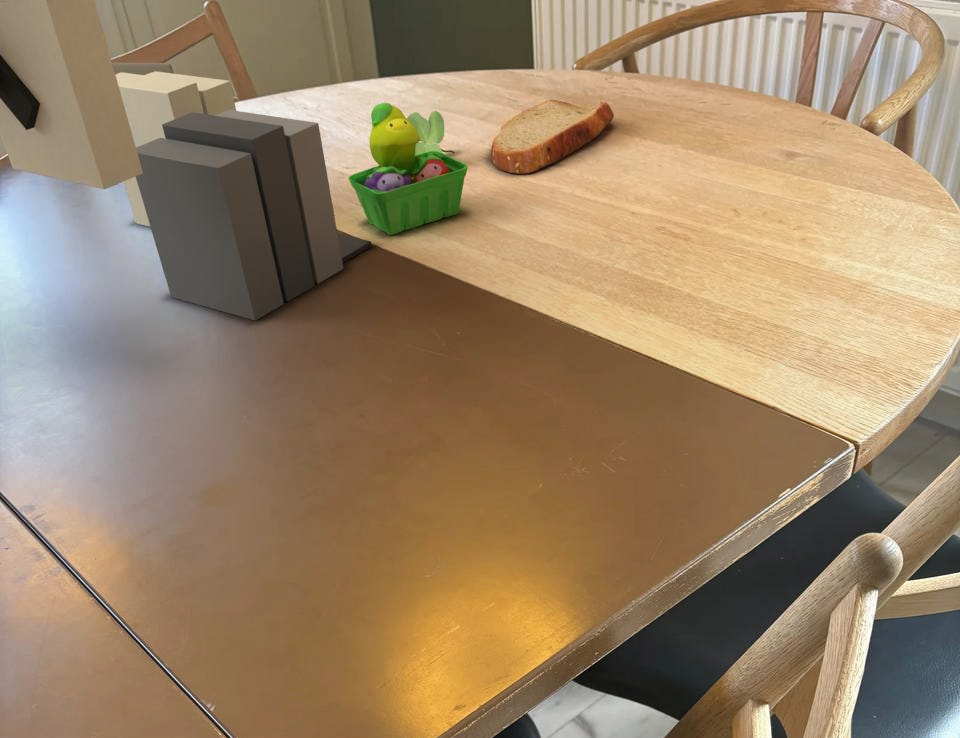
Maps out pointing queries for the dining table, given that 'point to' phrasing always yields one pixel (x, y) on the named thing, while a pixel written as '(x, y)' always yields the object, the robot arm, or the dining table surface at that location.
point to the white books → (165, 111)
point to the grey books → (241, 210)
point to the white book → (65, 95)
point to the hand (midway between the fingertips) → (57, 107)
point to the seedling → (428, 132)
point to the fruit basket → (406, 177)
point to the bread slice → (546, 135)
